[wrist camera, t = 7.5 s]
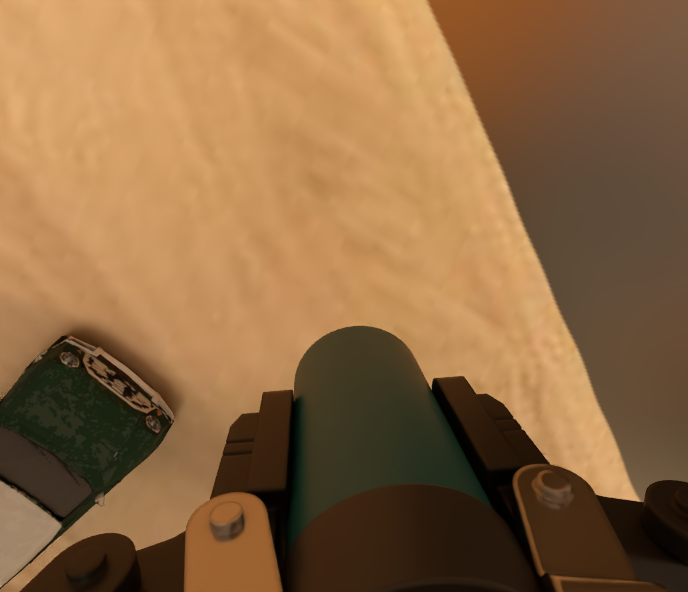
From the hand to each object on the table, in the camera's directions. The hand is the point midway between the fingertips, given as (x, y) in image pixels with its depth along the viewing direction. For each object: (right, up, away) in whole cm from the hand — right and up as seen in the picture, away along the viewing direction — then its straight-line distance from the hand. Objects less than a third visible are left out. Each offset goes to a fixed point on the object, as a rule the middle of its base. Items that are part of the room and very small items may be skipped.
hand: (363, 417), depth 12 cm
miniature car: (-21, -7, +21) cm, 30 cm away
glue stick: (0, +1, +2) cm, 2 cm away
